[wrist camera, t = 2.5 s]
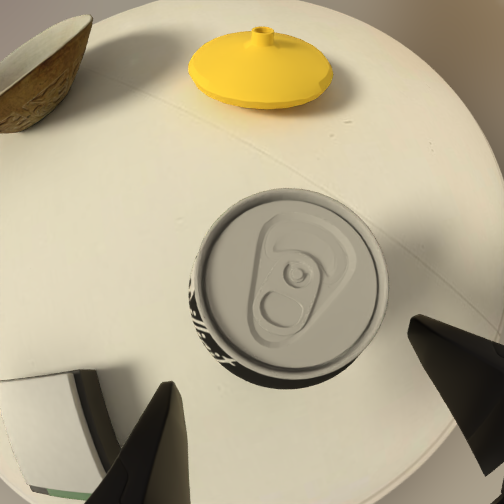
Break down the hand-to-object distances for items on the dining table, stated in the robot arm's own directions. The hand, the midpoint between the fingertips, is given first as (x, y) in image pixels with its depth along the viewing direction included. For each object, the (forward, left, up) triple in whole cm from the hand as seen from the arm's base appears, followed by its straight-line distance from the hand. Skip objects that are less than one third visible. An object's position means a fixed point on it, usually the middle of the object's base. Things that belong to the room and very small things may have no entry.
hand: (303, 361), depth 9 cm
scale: (-3, +18, -10) cm, 20 cm away
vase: (+27, -8, -10) cm, 30 cm away
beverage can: (+2, 0, -10) cm, 10 cm away
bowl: (+39, +22, -10) cm, 46 cm away
